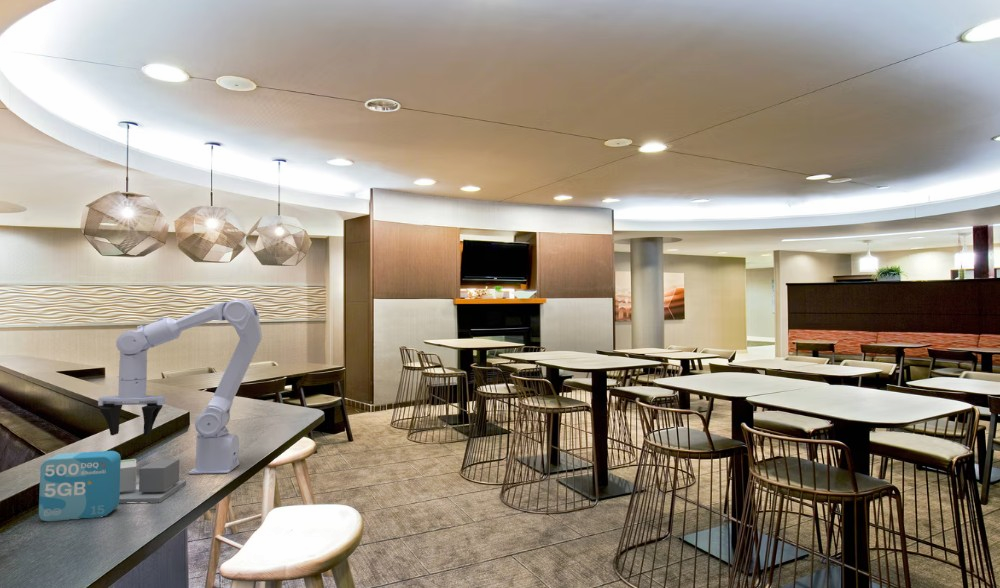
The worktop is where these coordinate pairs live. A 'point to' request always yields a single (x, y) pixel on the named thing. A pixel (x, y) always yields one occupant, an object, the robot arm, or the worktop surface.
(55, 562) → the worktop surface
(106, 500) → the data package
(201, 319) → the robot arm
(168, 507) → the worktop surface
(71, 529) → the worktop surface
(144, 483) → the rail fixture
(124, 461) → the module
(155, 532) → the worktop surface
